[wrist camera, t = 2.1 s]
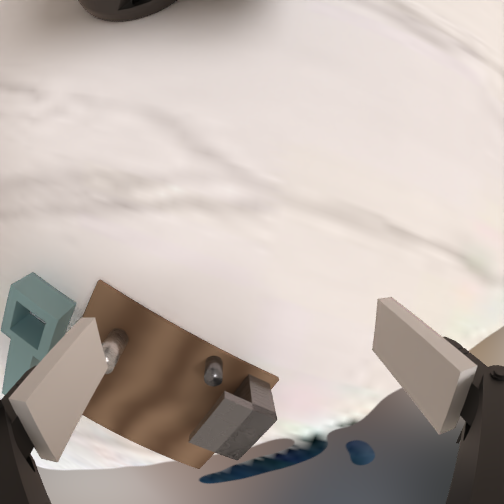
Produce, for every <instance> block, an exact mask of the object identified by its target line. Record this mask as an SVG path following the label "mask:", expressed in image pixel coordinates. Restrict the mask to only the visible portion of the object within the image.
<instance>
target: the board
mask: <svg viewBox="0 0 504 504" xmlns="http://www.w3.org/2000/svg"><path fill="white" fill-rule="evenodd" d="M82 318H95V319H96V323H97V328H98V332H99V336H100V340H101V344H102V343H103V342H104V340H105V339H106V337H107V336H108V335H109V333H110V332H111V330H113V329H115V328H119V329H122V330H123V331H125V332H126V333H127V335H128V338H129V341H128V343H127V345H126V347H125V349H124V351H123V352H122V354H121V356H120V358H119V360H118V362H117V363H116V365H115V367H114V369H113V371H112V372H111V373H109V374H104V376H103V378H102V379H101V381H100V383H99V385H98V387H97V388H96V390H95V392H94V394H93V396H92V397H91V399H90V401H89V403H88V405H87V407H86V408H85V410H84V412H83V414H82V415H84V416H86V417H87V418H89V419H91V420H92V421H94V422H96V423H98V424H100V425H102V426H103V427H105V428H107V429H109V430H111V431H113V432H115V433H117V434H119V435H121V436H123V437H125V438H127V439H129V440H131V441H133V442H135V443H137V444H139V445H141V446H143V447H146V448H148V449H150V450H152V451H155V452H157V453H159V454H162V455H164V456H166V457H169V458H171V459H174V460H176V461H179V462H181V463H184V464H187V465H189V466H192V467H195V468H198V469H200V468H201V467H202V466H203V465H204V464H205V463H206V461H207V460H208V459H209V458H210V457H211V456H212V455H213V454H214V453H215V452H212V451H209V450H207V449H204V448H202V447H199V446H197V445H194V444H192V443H189V435H190V434H191V433H192V431H193V430H194V429H195V428H196V426H197V425H198V424H199V423H200V421H201V420H202V419H203V418H204V416H205V415H206V414H207V413H208V411H209V410H210V409H211V408H212V406H213V405H214V404H215V403H216V401H217V400H218V399H219V398H220V396H221V395H222V394H223V392H224V391H226V392H228V393H230V394H233V393H234V392H235V391H236V390H237V388H238V387H239V386H240V384H241V383H242V382H243V381H244V379H245V378H246V377H247V376H248V374H250V375H252V376H254V377H257V378H259V379H261V380H263V381H265V382H268V383H270V387H271V389H272V388H273V387H274V385H275V384H276V383H277V382H278V381H279V378H278V377H277V376H275V375H273V374H270V373H268V372H266V371H264V370H262V369H260V368H258V367H256V366H253V365H251V364H249V363H247V362H245V361H243V360H241V359H239V358H237V357H235V356H233V355H231V354H229V353H227V352H225V351H223V350H221V349H219V348H217V347H216V346H214V345H212V344H210V343H208V342H206V341H204V340H202V339H200V338H198V337H197V336H195V335H193V334H191V333H189V332H187V331H186V330H184V329H182V328H180V327H178V326H177V325H175V324H173V323H171V322H169V321H168V320H166V319H164V318H162V317H161V316H159V315H157V314H156V313H154V312H152V311H150V310H149V309H147V308H145V307H144V306H142V305H140V304H139V303H137V302H135V301H134V300H132V299H130V298H129V297H127V296H126V295H124V294H122V293H121V292H119V291H117V290H116V289H114V288H113V287H111V286H110V285H108V284H106V283H105V282H103V281H102V280H99V281H98V282H97V285H96V287H95V289H94V291H93V294H92V296H91V298H90V301H89V303H88V305H87V308H86V310H85V312H84V315H83V317H82ZM209 356H218V357H220V358H221V359H222V361H223V381H222V383H221V384H220V385H218V386H214V387H213V386H209V385H207V384H206V383H205V381H204V372H205V362H206V359H207V358H208V357H209Z"/></svg>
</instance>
